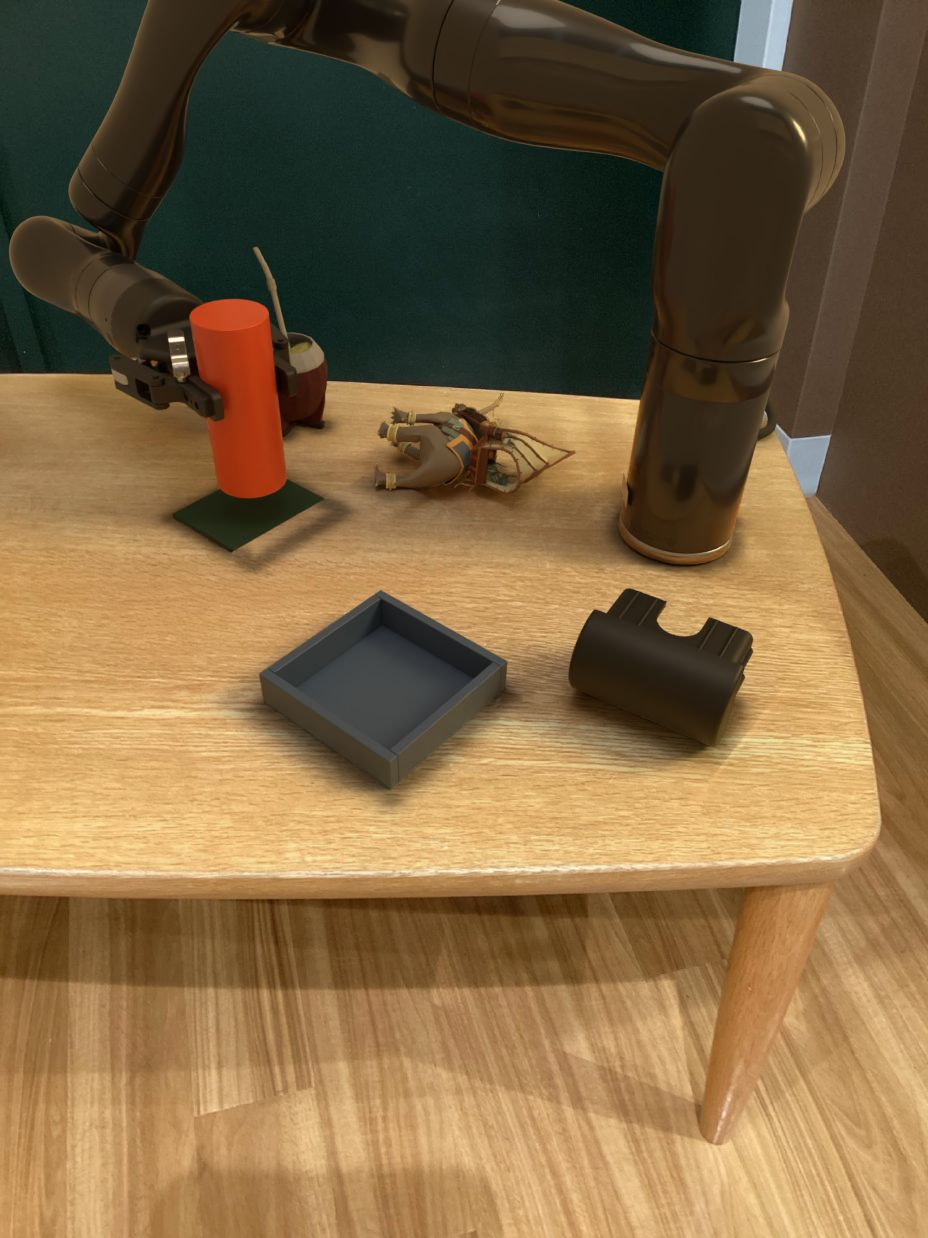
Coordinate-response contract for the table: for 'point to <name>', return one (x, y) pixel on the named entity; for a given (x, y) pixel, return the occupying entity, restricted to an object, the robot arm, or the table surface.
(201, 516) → the mat
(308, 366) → the mate gourd
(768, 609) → the table surface
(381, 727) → the dark grey square tray
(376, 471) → the figurine
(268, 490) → the tube
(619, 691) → the end cap
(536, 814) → the table surface
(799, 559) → the table surface
